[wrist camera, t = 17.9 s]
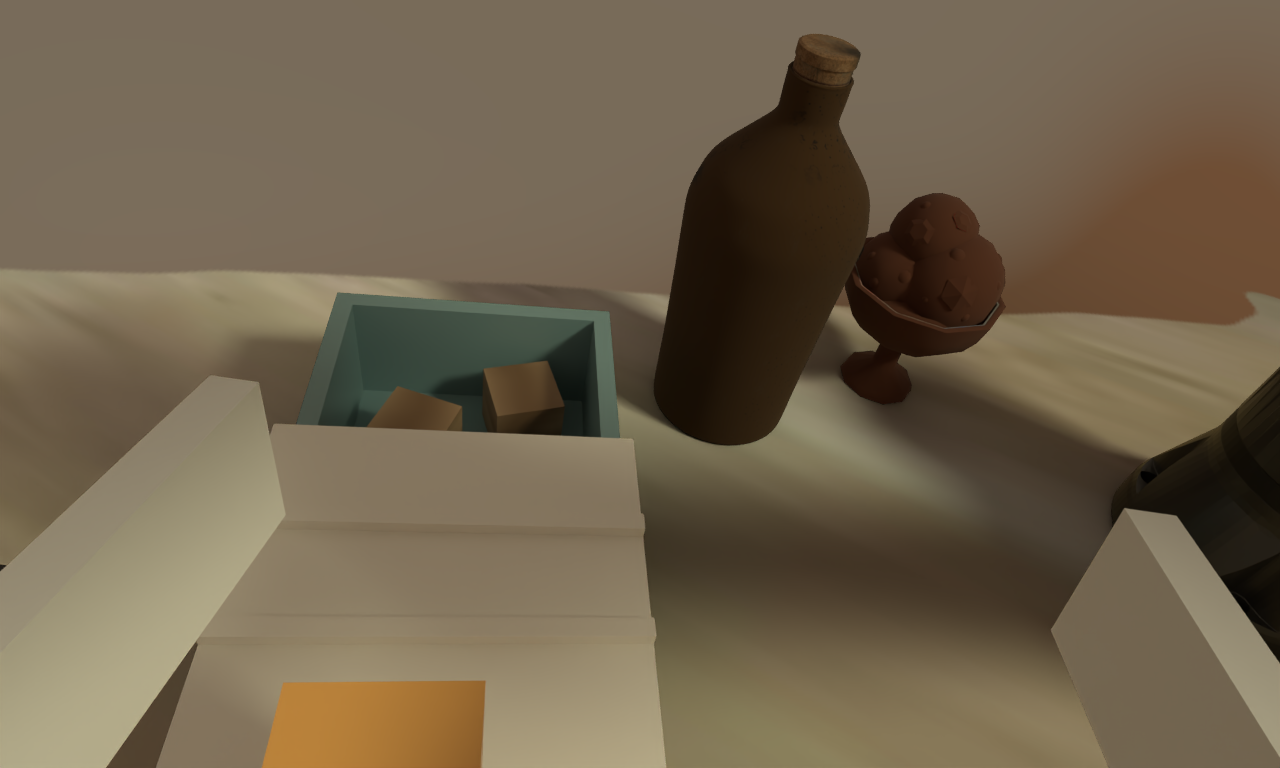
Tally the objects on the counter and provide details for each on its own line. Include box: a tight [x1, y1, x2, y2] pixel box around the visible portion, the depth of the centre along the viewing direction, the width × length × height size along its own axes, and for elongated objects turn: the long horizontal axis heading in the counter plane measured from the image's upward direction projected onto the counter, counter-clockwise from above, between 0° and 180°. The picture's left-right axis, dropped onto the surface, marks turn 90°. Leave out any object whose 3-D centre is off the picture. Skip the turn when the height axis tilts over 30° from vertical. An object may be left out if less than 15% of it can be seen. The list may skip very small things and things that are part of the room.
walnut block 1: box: [366, 386, 462, 432], centre depth 44 cm, size 4×4×4 cm
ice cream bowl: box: [841, 193, 1006, 404], centre depth 55 cm, size 11×11×15 cm
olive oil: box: [654, 34, 870, 445], centre depth 47 cm, size 11×11×25 cm
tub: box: [296, 293, 620, 438], centre depth 42 cm, size 16×20×8 cm
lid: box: [156, 424, 666, 768], centre depth 26 cm, size 17×21×14 cm
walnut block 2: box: [482, 361, 565, 436], centre depth 48 cm, size 4×4×4 cm
